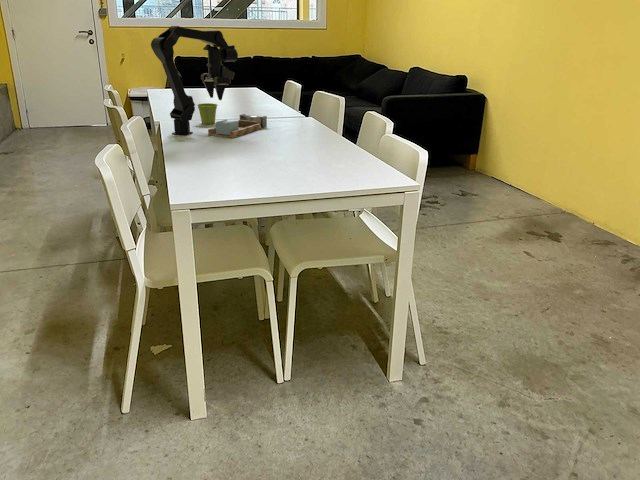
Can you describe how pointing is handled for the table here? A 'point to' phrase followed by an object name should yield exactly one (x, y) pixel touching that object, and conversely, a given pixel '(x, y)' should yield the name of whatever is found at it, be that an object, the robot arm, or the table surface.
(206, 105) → the plant pot
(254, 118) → the winch drum
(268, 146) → the table surface
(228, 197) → the table surface
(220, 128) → the grey box
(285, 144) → the table surface
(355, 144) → the table surface
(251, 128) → the brown tray
